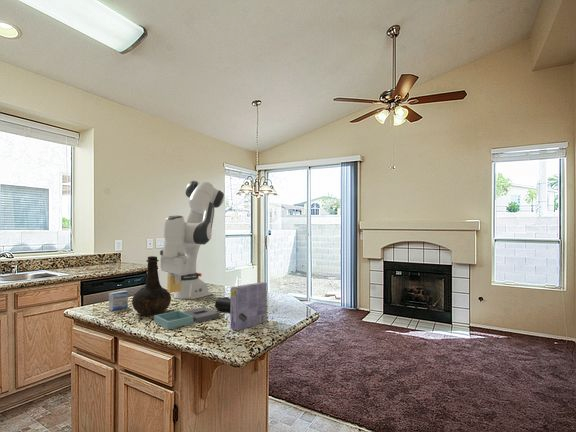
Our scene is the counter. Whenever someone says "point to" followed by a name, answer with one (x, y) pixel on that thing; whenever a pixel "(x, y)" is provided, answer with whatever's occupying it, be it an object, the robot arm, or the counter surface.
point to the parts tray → (173, 319)
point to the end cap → (223, 304)
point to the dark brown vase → (151, 293)
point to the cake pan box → (248, 305)
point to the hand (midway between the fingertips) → (174, 283)
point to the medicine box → (118, 300)
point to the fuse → (171, 286)
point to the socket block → (202, 314)
